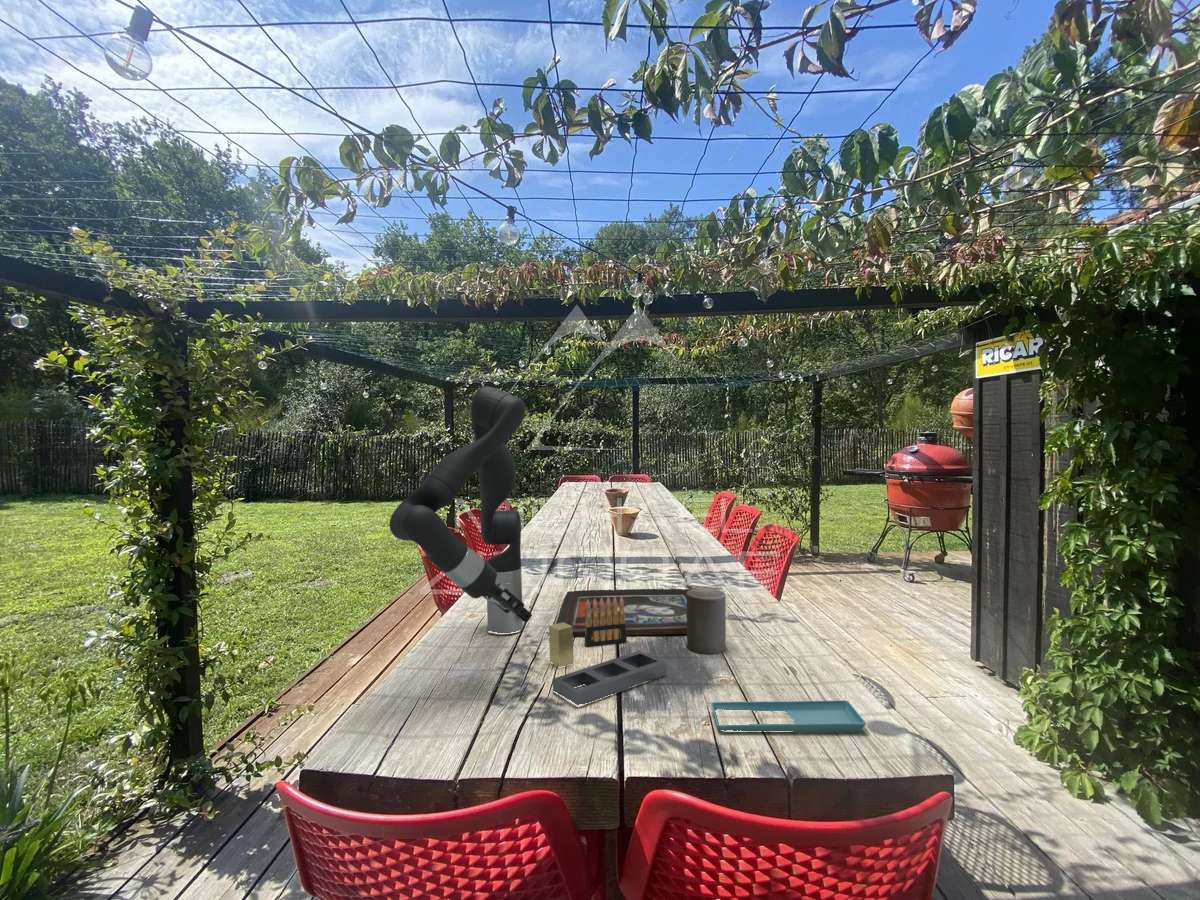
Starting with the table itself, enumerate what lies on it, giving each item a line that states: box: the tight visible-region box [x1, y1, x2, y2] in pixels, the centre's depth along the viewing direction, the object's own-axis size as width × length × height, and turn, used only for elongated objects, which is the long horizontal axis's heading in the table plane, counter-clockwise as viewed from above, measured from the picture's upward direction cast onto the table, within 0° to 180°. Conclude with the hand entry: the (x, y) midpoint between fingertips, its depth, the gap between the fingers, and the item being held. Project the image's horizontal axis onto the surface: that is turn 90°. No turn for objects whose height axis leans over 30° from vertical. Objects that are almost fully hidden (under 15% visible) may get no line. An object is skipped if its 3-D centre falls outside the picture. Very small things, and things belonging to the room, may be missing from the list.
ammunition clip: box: [584, 596, 628, 648], centre depth 150 cm, size 11×2×12 cm, turn 103°
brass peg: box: [548, 622, 574, 667], centre depth 138 cm, size 4×4×9 cm
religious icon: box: [555, 587, 697, 638], centre depth 174 cm, size 40×45×3 cm
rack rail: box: [552, 650, 667, 705], centre depth 126 cm, size 24×9×3 cm, turn 127°
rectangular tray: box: [710, 699, 867, 734], centre depth 108 cm, size 26×9×2 cm, turn 87°
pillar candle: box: [686, 587, 727, 655], centre depth 146 cm, size 10×10×15 cm
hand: (519, 614), depth 131 cm, fingers open, 8 cm apart
